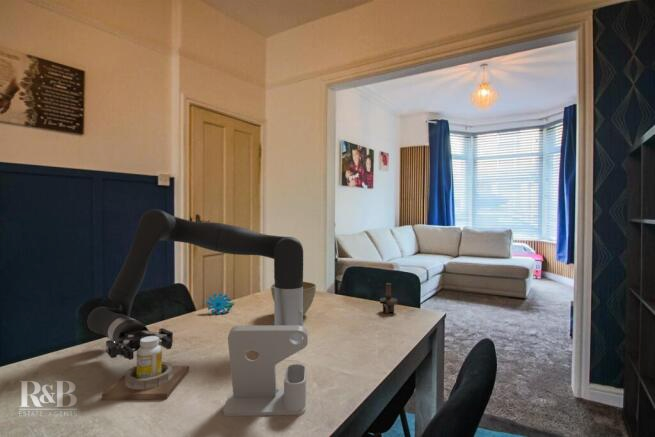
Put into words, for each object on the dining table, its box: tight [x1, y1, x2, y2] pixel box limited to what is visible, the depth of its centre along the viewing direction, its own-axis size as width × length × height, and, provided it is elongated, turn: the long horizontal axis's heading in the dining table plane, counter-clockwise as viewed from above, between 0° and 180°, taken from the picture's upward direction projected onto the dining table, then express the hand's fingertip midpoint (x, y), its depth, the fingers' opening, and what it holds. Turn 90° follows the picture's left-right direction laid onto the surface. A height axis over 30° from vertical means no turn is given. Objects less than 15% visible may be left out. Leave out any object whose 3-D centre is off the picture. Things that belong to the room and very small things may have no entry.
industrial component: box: [379, 282, 398, 314], centre depth 147 cm, size 9×7×12 cm
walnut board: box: [101, 361, 190, 401], centre depth 84 cm, size 14×14×3 cm
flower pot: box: [270, 281, 317, 316], centre depth 142 cm, size 18×18×12 cm
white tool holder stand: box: [222, 325, 309, 417], centre depth 76 cm, size 17×10×18 cm, turn 92°
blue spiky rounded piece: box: [206, 292, 235, 316], centre depth 147 cm, size 11×6×10 cm
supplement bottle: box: [136, 336, 163, 378], centre depth 84 cm, size 5×5×10 cm
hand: (151, 349), depth 83 cm, fingers open, 8 cm apart
